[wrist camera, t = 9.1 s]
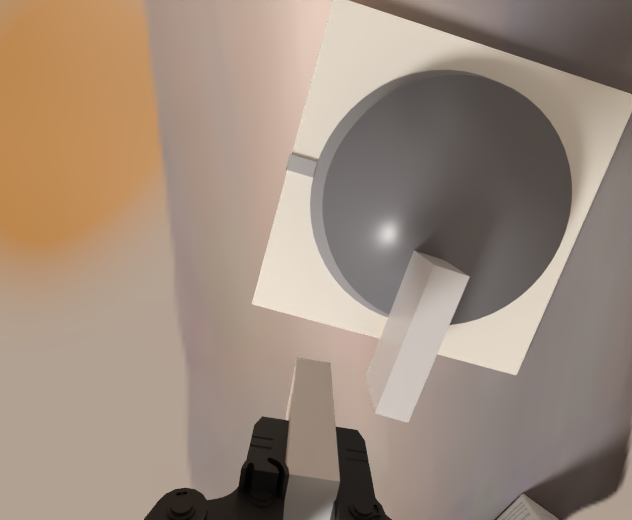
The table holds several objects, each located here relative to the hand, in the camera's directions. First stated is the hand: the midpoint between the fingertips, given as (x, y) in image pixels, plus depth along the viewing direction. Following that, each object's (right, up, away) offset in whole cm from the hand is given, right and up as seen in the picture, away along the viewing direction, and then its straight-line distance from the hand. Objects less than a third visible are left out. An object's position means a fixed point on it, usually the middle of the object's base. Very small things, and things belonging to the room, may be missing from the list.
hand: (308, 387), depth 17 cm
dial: (+8, +7, +9) cm, 13 cm away
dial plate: (+8, +10, +10) cm, 16 cm away
